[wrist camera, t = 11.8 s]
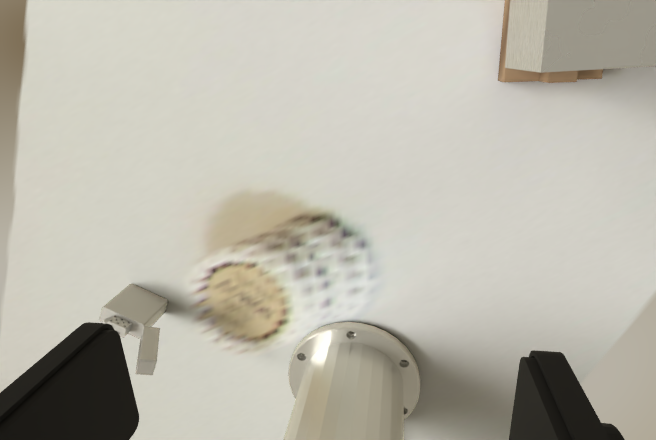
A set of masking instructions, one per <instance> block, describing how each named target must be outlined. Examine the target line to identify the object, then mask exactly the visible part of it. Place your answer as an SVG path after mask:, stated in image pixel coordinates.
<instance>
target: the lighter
mask: <svg viewBox="0 0 656 440" xmlns="http://www.w3.org/2000/svg"><path fill="white" fill-rule="evenodd" d="M167 303H168V300H167V299H165V298H163V297H161V296H158V295H156V294H154V293H152V292H149V291H147V290H145V289H143V288H140V287H138V286H136V285H134V284H129V285H128V286H127V287H126V288H125V289H124V290H122V291H121V292H120V293H119V294H118V295H116V296H115V297H114V298H113V299H112V300H111V301H109V302H108V303H107V304H106V305H105V306H103V307H102V310H101V314H100V318H99V320H100V321H101V322H103V323H104V324H110V325H112V326H113V328H114V330H115V331H117V332H118V333H119V335H120V337H122V338H124V337H125V336H126V335H127V334H129V335H132V336H134V337H136V338H138V339H139V338H141V339H140V345H139V352H138V359H137V367H136V374H143V375H153V372H154V369H155V365H156V362H157V352H158V342H159V331H160V328H154V327H152V325H153V324H154V323H155V322H156V321H157V320H158V319H159V318H160V317H161V316H162V315H163V314H164V312H165V310H166V307H167Z"/></svg>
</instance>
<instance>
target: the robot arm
mask: <svg viewBox="0 0 656 440" xmlns="http://www.w3.org/2000/svg"><path fill="white" fill-rule="evenodd" d="M288 376H289V384H290V387H291V390H292V393H293V395H294V397H295V399H296V400H295V404H294V407H293V410H292V413H291V417H290V420H289V423H288V427H287V430H286V433H285V436H284V440H404V420H405V419H406V418H407V417H408V416H409V415H410V413H411V412H412V411H413V409H414V408H415V406H416V404H417V401H418V399H419V394H420V375H419V370H418V366H417V364H416V362H415V359H414V357H413V356H412V354H411V353H410V352H409V350H408V349H407V347H406V346H405V345H403V344H402V343H401V342H400V341H399V340H398V339H397V338H395V337H394V336H392V335H391V334H389V333H388V332H386V331H384V330H381V329H379V328H377V327H375V326H371V325H367V324H363V323H354V322H341V323H334V324H329V325H325V326H323V327H320V328H318V329H316V330H314V331H312V332H311V333H310V334H308V335H307V336H306V337H304V338H303V340H302V341H301V342H300V343H299V344H298V345H297V347H296V349H295V351H294V353H293V355H292V358H291V361H290V365H289V372H288ZM138 422H139V413H138V409H137V405H136V401H135V397H134V393H133V388H132V384H131V380H130V376H129V372H128V368H127V364H126V360H125V355H124V351H123V347H122V343H121V339H120V335H119V333H118V332H117V331H115V330H114V328H113V326H112V325H110V324H104V323H84V324H82V325H81V326H80V327H78V328H77V329H76V330H75V331H74V332H72V333H71V334H70V335H69V336H68V337H66V338H65V339H64V340H63V341H62V342H61V343H59V344H58V345H57V346H56V347H55V348H53V349H52V350H51V351H50V352H49V353H47V354H46V355H45V356H44V357H43V358H41V359H40V360H39V361H38V362H37V363H35V364H34V365H33V366H32V367H31V368H29V369H28V370H27V371H26V372H25V373H23V374H22V375H21V376H20V377H19V378H17V379H16V380H15V381H14V382H13V383H12V384H10V385H9V386H8V387H7V388H6V389H4V390H3V391H2V392H1V393H0V440H129V439H130V438H131V436H132V435H133V434H134V432H135V430H136V429H137V426H138ZM509 440H624V438H623V436H622V435H621V433H620V432H619V431H618V429H617V428H616V427H615V426H613V425H612V424H606V423H601V422H600V420H599V418H598V416H597V415H596V413H595V411H594V409H593V407H592V405H591V404H590V402H589V400H588V398H587V396H586V395H585V393H584V391H583V389H582V387H581V385H580V384H579V382H578V380H577V378H576V376H575V374H574V373H573V371H572V369H571V367H570V365H569V363H568V362H567V360H566V358H565V356H564V355H563V354H562V353H561V352H548V351H531V353H530V355H529V357H522V358H521V359H520V364H519V372H518V379H517V386H516V393H515V400H514V407H513V414H512V422H511V429H510V436H509Z"/></svg>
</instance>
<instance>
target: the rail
mask: <svg viewBox="0 0 656 440" xmlns="http://www.w3.org/2000/svg"><path fill="white" fill-rule="evenodd" d="M510 1H511V0H505V6H504V18H503V29H502V40H501V52H500V63H499V75H498V81H502V82H522V81H542V82H547V83H555V82H576V81H577V79H602V73H603V69H597V70H579V71H561V72H543V73H540V72H532V71H525V70H518V69H510V68H505V60H506V47H507V34H508V21H509V8H510Z"/></svg>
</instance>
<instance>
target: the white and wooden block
mask: <svg viewBox="0 0 656 440" xmlns="http://www.w3.org/2000/svg"><path fill="white" fill-rule="evenodd" d="M650 66H656V0H511V1H510V8H509V21H508V34H507V47H506V60H505V68H510V69H518V70H525V71H532V72H540V73H543V72H561V71H579V70H597V69H614V68H632V67H650Z"/></svg>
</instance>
